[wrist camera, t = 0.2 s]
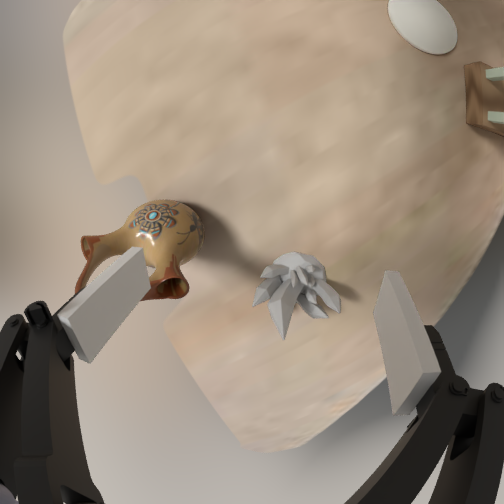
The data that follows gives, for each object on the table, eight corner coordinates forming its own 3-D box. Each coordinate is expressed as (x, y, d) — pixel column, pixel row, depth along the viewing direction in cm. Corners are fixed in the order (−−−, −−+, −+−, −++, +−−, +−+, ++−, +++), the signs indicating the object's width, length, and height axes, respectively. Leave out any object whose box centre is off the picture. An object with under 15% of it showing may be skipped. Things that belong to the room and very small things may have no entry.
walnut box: (464, 65, 24) (479, 61, 19) (505, 84, 22) (522, 83, 17) (466, 123, 28) (482, 125, 24) (506, 137, 26) (523, 141, 22)
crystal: (333, 305, 47) (337, 369, 34) (260, 297, 49) (242, 359, 36) (343, 256, 43) (355, 315, 29) (262, 248, 45) (242, 304, 31)
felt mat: (382, -17, 21) (383, -19, 20) (448, 4, 18) (450, 2, 18) (391, 44, 26) (393, 42, 25) (459, 63, 24) (461, 62, 23)
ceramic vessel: (233, 208, 42) (156, 307, 20) (220, 256, 47) (153, 368, 25) (144, 180, 43) (29, 241, 21) (138, 226, 47) (42, 304, 25)
